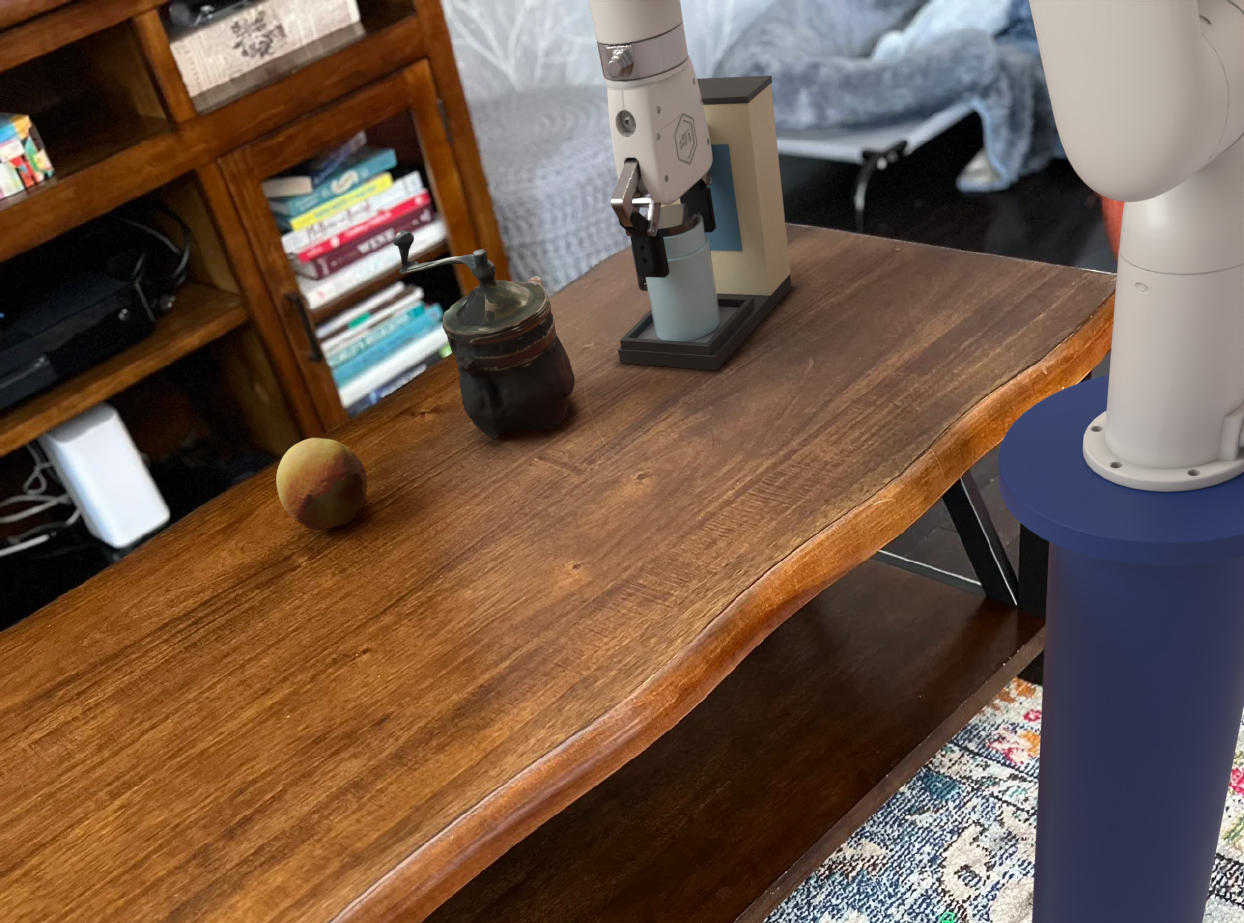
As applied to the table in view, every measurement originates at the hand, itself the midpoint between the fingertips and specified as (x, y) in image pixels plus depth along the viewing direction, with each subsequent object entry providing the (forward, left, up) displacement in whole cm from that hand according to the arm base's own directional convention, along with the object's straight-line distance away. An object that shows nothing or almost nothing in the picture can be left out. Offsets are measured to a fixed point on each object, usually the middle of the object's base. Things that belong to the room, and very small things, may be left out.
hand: (677, 253), depth 123 cm
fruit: (+18, +36, -9) cm, 42 cm away
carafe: (0, 0, -7) cm, 7 cm away
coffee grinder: (+11, +17, -9) cm, 23 cm away
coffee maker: (0, -5, -9) cm, 10 cm away
